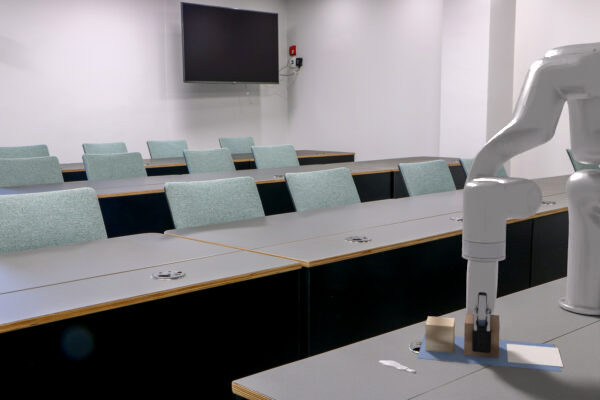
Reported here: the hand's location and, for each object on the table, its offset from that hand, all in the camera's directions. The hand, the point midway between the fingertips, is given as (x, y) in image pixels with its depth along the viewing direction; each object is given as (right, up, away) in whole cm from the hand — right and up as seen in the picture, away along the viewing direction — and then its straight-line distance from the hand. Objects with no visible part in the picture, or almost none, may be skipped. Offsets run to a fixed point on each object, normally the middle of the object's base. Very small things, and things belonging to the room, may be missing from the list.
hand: (481, 344), depth 115 cm
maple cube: (-7, -1, +2) cm, 8 cm away
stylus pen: (-19, -4, -4) cm, 20 cm away
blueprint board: (+1, -2, 0) cm, 2 cm away
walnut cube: (0, -1, 0) cm, 1 cm away
